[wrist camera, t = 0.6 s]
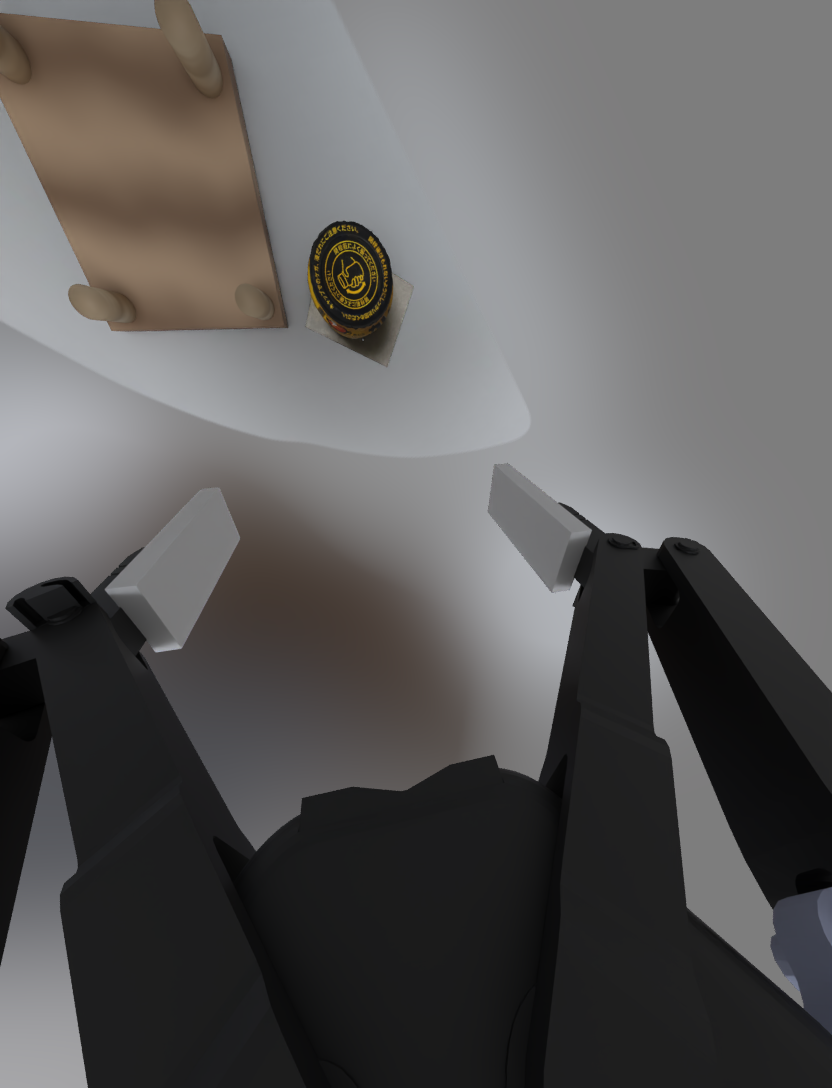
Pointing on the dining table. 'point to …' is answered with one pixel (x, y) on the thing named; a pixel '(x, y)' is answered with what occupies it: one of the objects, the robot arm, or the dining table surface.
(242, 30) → the dining table surface
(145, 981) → the robot arm
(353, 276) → the condiment
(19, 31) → the peg holder
